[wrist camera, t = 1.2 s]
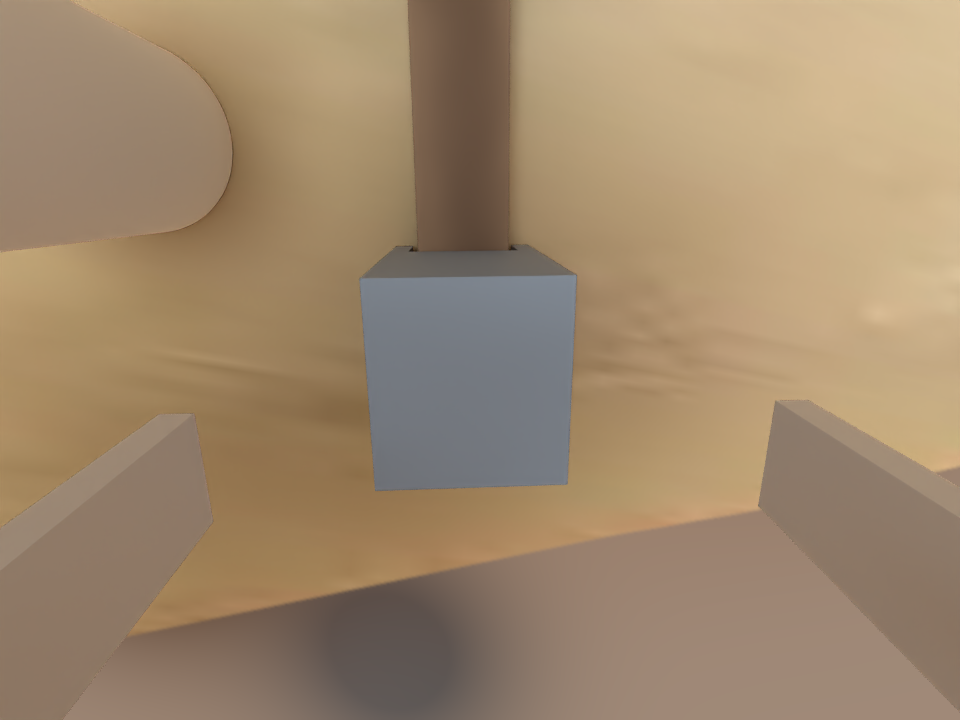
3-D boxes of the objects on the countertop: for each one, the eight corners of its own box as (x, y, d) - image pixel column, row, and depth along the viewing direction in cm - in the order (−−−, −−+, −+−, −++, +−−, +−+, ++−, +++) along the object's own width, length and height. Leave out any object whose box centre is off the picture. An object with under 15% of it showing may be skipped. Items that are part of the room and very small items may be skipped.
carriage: (403, 382, 28) (375, 490, 18) (396, 246, 26) (359, 278, 16) (525, 379, 28) (567, 484, 18) (527, 244, 26) (576, 275, 16)
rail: (418, 405, 29) (412, 446, 24) (398, -54, 23) (383, -121, 18) (510, 403, 29) (522, 443, 24) (515, -52, 23) (531, -118, 18)
